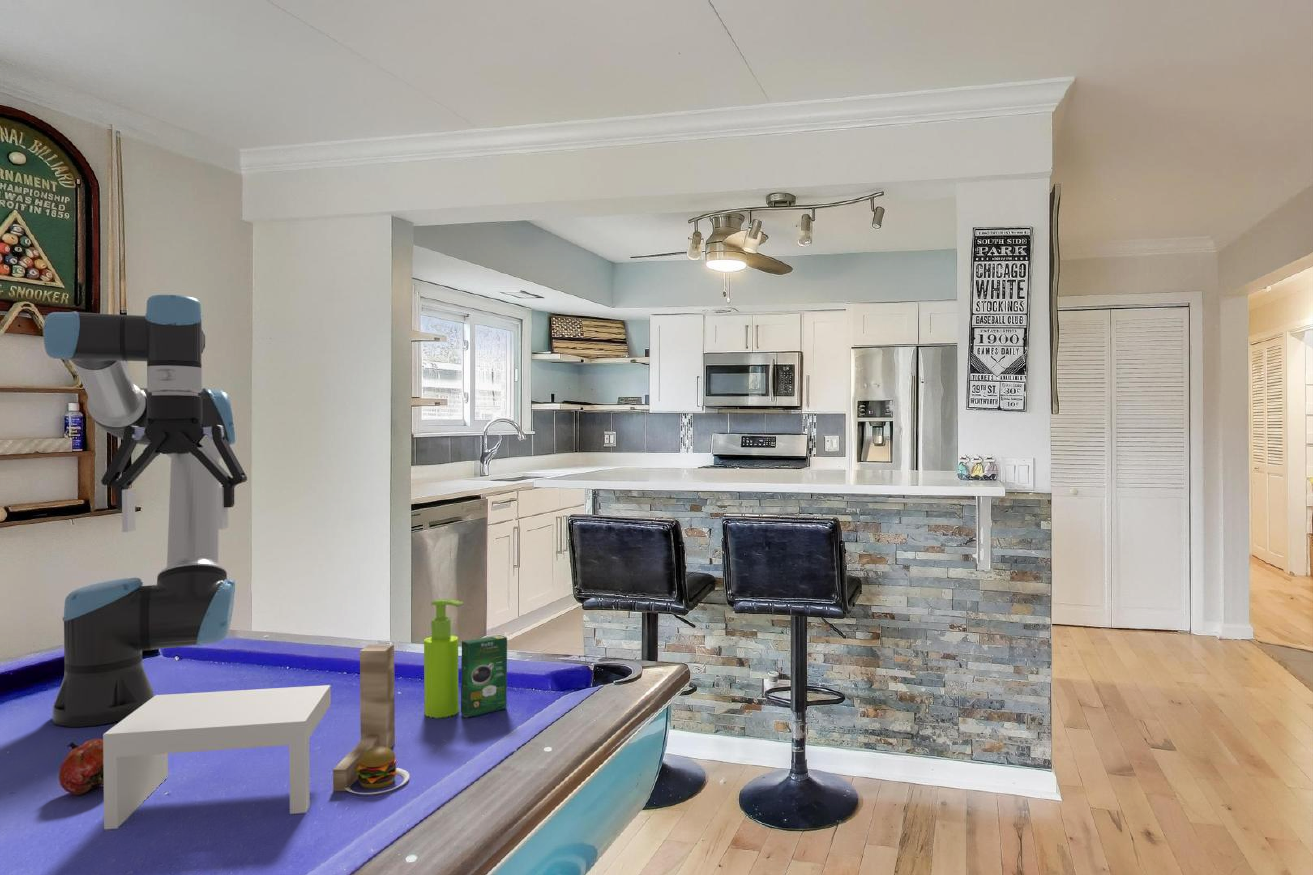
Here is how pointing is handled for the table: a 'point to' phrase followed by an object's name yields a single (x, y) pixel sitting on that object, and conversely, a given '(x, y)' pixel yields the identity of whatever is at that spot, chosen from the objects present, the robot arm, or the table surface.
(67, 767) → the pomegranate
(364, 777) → the hamburger
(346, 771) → the block
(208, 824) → the table surface
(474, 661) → the coffee box
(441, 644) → the soap dispenser
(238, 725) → the shelf
